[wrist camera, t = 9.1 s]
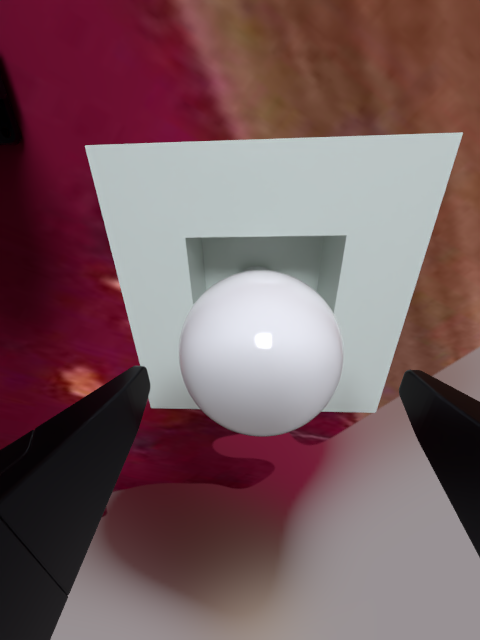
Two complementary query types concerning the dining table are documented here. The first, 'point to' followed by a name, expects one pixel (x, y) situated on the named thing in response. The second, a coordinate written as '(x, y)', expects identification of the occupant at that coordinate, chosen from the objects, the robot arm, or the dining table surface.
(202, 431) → the dining table surface
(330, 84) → the dining table surface
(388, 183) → the socket block
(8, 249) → the dining table surface
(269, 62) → the dining table surface
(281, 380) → the lightbulb
